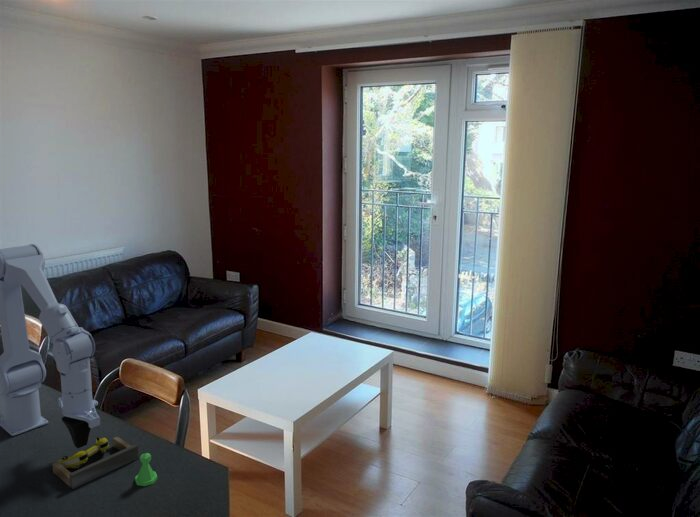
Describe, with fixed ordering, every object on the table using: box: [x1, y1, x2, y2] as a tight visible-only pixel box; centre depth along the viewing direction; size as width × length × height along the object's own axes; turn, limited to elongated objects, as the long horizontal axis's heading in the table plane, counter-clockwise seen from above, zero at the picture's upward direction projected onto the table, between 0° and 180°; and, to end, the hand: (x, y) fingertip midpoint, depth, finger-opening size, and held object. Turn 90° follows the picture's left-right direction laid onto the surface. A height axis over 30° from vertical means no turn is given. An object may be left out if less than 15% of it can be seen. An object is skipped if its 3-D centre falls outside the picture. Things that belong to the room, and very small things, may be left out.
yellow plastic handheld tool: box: [56, 436, 110, 470], centre depth 113 cm, size 10×6×4 cm, turn 155°
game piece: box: [134, 452, 158, 487], centre depth 107 cm, size 4×4×6 cm
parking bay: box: [52, 436, 139, 490], centre depth 111 cm, size 8×14×3 cm, turn 142°
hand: (81, 445), depth 115 cm, fingers closed
